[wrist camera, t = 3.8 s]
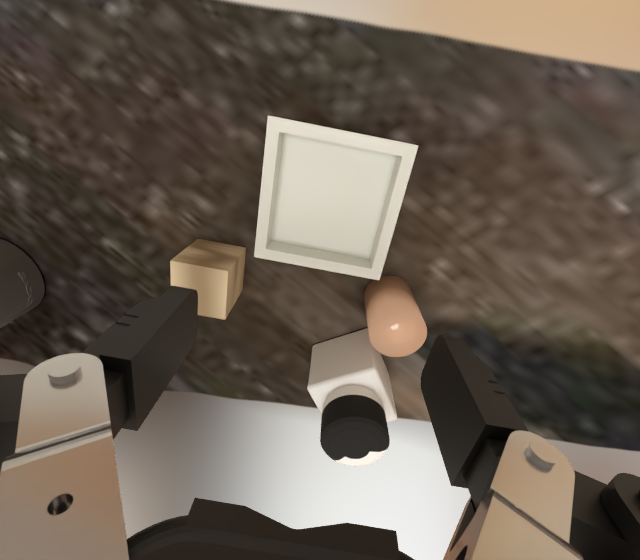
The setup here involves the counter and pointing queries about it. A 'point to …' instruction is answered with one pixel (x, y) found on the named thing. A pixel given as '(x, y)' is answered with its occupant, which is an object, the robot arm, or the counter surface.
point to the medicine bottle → (352, 398)
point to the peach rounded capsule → (393, 317)
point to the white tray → (330, 197)
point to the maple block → (211, 275)
